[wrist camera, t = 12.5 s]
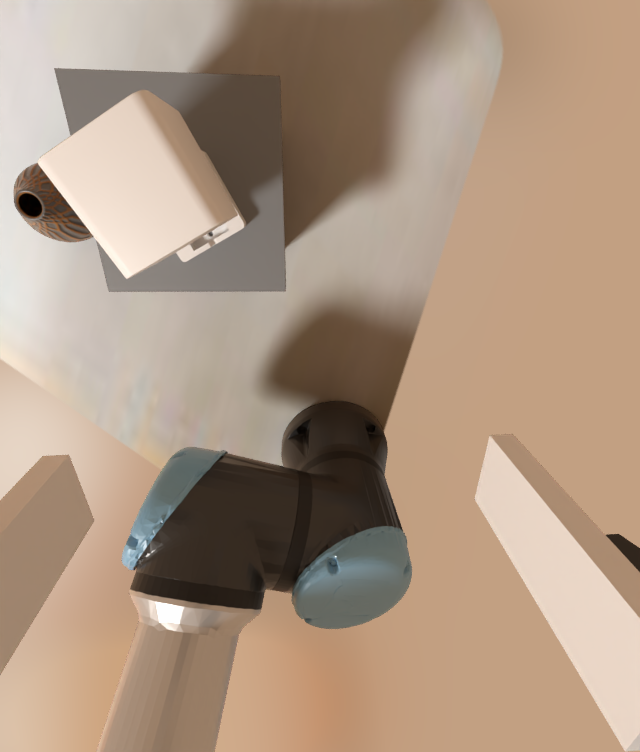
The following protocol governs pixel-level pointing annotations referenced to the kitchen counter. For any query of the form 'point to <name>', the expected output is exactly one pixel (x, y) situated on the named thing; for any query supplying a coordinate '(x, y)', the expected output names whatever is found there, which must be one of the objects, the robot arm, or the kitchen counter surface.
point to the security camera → (143, 185)
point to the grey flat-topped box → (230, 158)
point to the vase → (47, 207)
